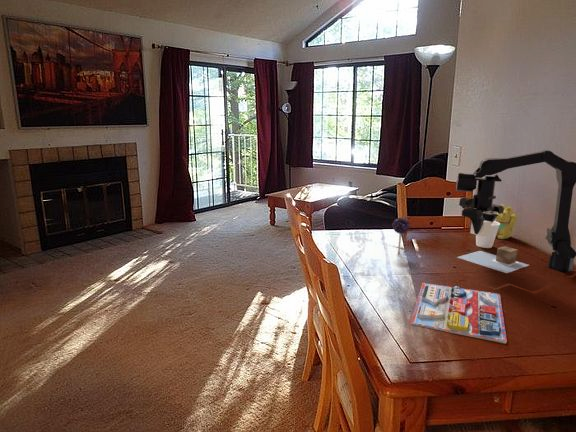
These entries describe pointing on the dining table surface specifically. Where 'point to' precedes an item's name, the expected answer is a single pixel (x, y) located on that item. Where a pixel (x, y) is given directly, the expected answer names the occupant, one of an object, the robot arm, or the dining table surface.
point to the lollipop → (400, 228)
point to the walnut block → (506, 255)
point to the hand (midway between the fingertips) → (480, 232)
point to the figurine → (506, 223)
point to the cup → (488, 237)
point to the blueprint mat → (491, 261)
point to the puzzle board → (460, 312)
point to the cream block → (483, 229)
